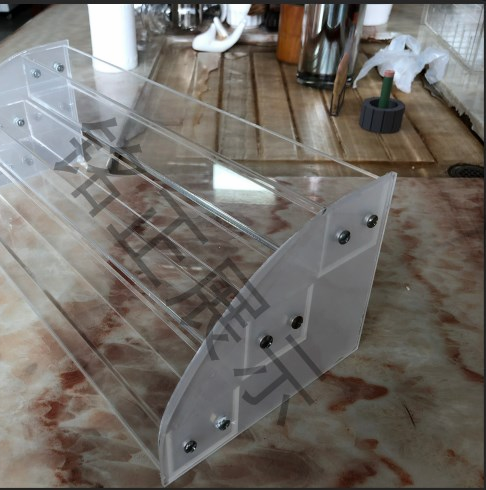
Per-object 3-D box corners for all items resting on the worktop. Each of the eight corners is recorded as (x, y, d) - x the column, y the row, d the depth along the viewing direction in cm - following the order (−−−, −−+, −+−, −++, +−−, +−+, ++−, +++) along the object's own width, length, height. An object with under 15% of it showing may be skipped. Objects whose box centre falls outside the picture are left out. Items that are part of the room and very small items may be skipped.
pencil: (386, 126, 130) (397, 71, 123) (379, 128, 129) (390, 73, 123) (379, 123, 132) (389, 69, 125) (372, 125, 131) (382, 70, 124)
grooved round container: (408, 127, 129) (413, 105, 126) (381, 136, 125) (385, 113, 123) (378, 115, 135) (382, 94, 132) (350, 123, 132) (354, 101, 129)
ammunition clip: (336, 100, 144) (343, 49, 138) (343, 100, 144) (351, 50, 137) (328, 115, 136) (336, 62, 129) (337, 116, 135) (344, 63, 129)
